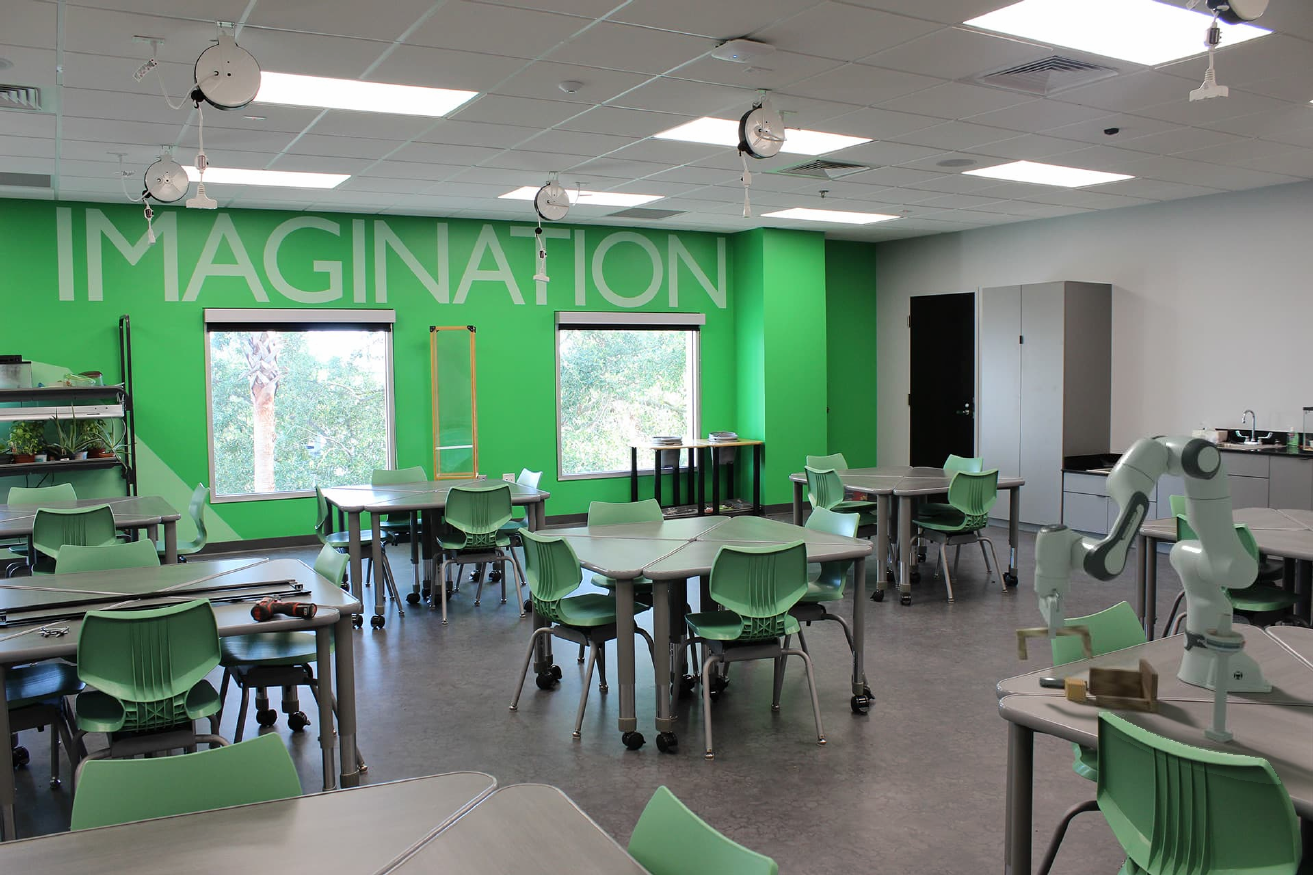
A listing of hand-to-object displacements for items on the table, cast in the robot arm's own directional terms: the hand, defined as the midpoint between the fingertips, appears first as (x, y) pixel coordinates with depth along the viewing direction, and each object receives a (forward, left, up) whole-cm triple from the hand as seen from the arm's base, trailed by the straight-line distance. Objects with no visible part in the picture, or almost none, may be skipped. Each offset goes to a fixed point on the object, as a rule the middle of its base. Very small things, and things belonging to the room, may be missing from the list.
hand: (1050, 636), depth 253 cm
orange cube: (-7, 0, -16) cm, 18 cm away
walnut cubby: (-18, 0, -16) cm, 24 cm away
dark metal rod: (-5, -7, -16) cm, 18 cm away
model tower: (-35, +21, -16) cm, 44 cm away
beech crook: (-1, 0, -6) cm, 6 cm away
